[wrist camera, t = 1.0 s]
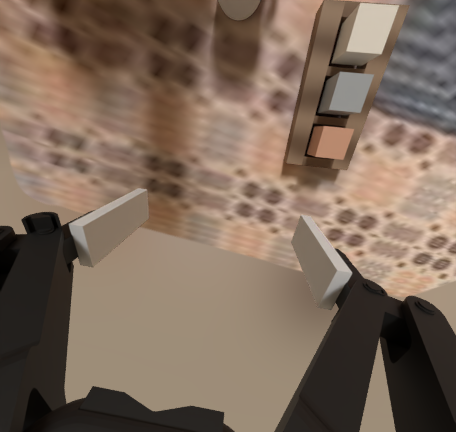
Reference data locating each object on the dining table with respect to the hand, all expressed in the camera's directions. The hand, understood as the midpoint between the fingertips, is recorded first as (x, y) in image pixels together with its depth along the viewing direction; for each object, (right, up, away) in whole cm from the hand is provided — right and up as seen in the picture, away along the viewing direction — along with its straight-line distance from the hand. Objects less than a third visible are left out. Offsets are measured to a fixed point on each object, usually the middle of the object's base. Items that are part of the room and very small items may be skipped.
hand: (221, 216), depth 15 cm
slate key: (+18, +19, +13) cm, 29 cm away
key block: (+18, +20, +16) cm, 31 cm away
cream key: (+19, +25, +10) cm, 33 cm away
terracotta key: (+17, +13, +16) cm, 27 cm away
